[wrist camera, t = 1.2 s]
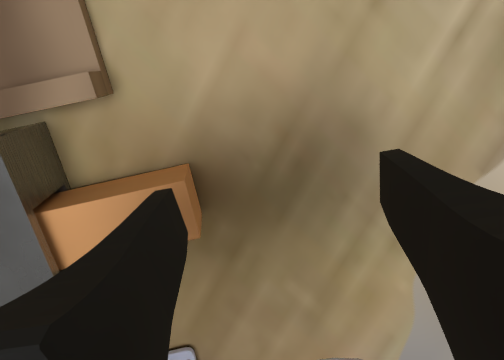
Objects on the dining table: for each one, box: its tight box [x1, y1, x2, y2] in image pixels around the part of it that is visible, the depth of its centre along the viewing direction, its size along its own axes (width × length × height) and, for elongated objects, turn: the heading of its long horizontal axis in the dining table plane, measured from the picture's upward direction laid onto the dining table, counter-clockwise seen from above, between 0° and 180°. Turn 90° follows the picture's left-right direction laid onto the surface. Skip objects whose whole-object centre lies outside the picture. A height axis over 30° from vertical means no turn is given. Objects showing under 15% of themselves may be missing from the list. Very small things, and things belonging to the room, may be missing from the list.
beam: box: [0, 122, 71, 307], centre depth 19 cm, size 11×4×5 cm, turn 11°
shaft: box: [33, 164, 202, 270], centre depth 20 cm, size 16×3×3 cm, turn 102°
